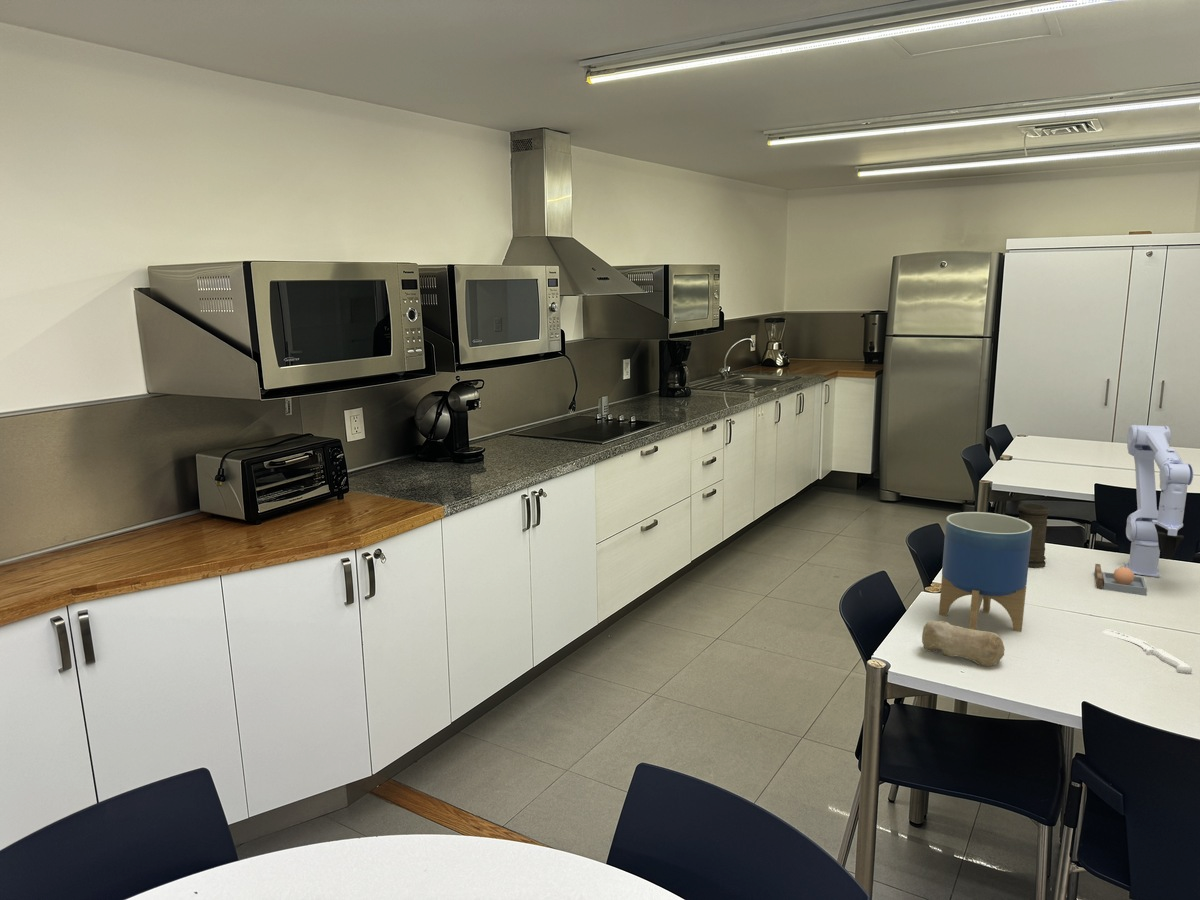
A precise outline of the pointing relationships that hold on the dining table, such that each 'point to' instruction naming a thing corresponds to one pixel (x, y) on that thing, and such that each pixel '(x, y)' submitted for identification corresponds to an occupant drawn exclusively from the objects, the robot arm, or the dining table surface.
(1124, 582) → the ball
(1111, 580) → the tray
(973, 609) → the planter
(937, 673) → the dining table surface
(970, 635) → the tan rounded lump
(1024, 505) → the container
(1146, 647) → the knife
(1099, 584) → the rail
